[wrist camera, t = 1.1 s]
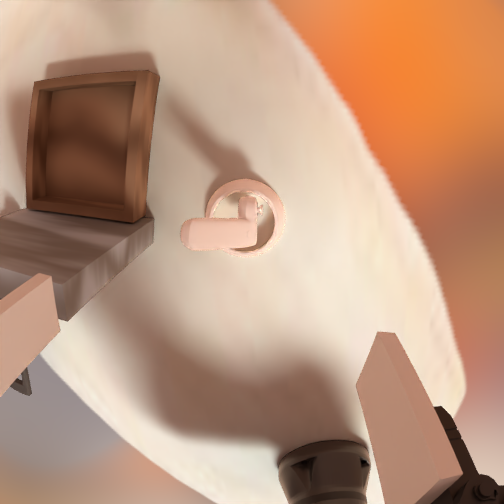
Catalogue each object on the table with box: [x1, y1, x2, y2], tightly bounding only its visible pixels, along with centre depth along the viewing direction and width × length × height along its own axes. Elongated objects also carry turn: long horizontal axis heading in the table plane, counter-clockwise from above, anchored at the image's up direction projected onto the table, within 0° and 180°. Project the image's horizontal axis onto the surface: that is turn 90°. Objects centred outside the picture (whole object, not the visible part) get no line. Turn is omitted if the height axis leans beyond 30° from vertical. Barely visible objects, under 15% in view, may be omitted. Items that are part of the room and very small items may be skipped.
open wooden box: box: [0, 70, 160, 322], centre depth 21 cm, size 17×16×16 cm
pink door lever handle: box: [181, 179, 285, 257], centre depth 27 cm, size 8×12×7 cm
